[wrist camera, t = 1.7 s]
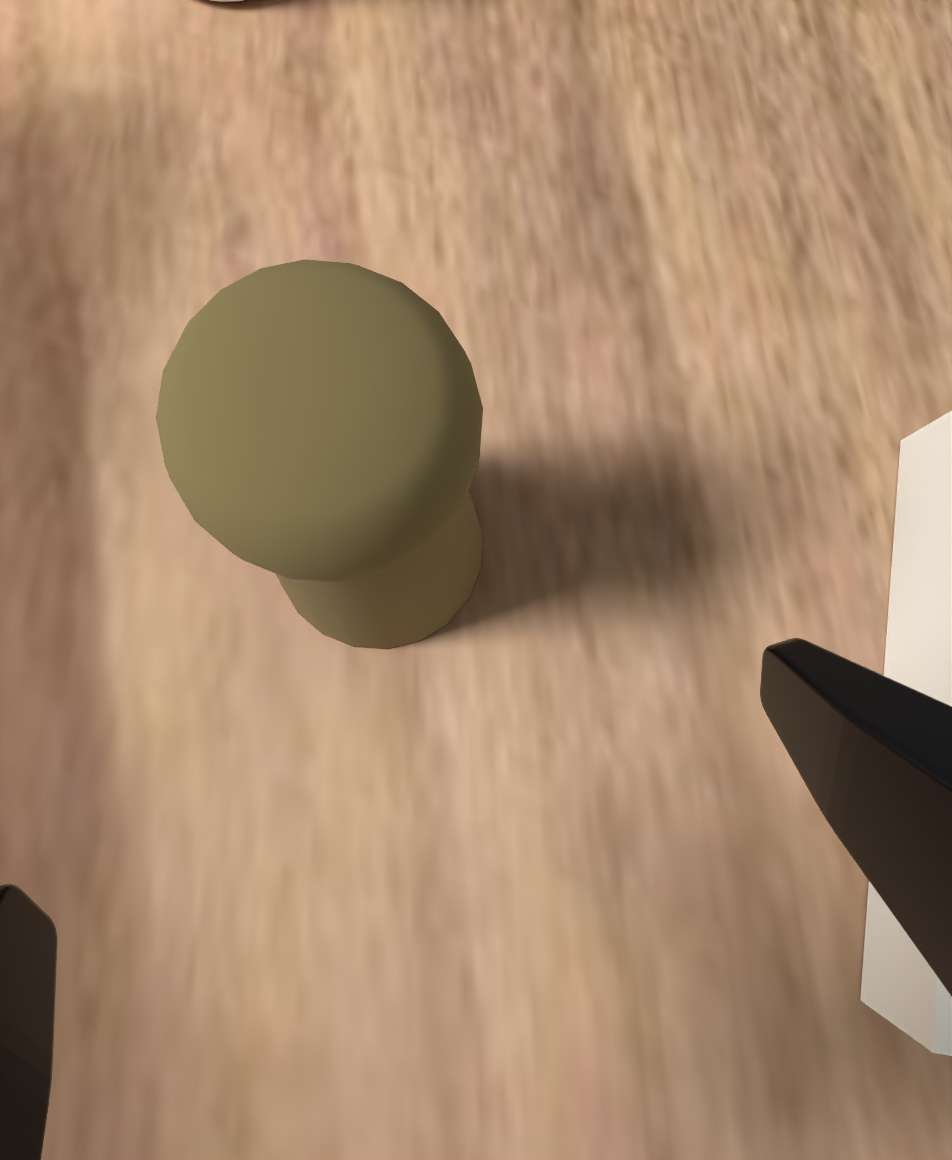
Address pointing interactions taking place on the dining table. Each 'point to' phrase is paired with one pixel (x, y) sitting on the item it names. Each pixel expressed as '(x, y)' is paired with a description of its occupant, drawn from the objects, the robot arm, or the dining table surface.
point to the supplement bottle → (226, 0)
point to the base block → (933, 667)
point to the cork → (331, 446)
